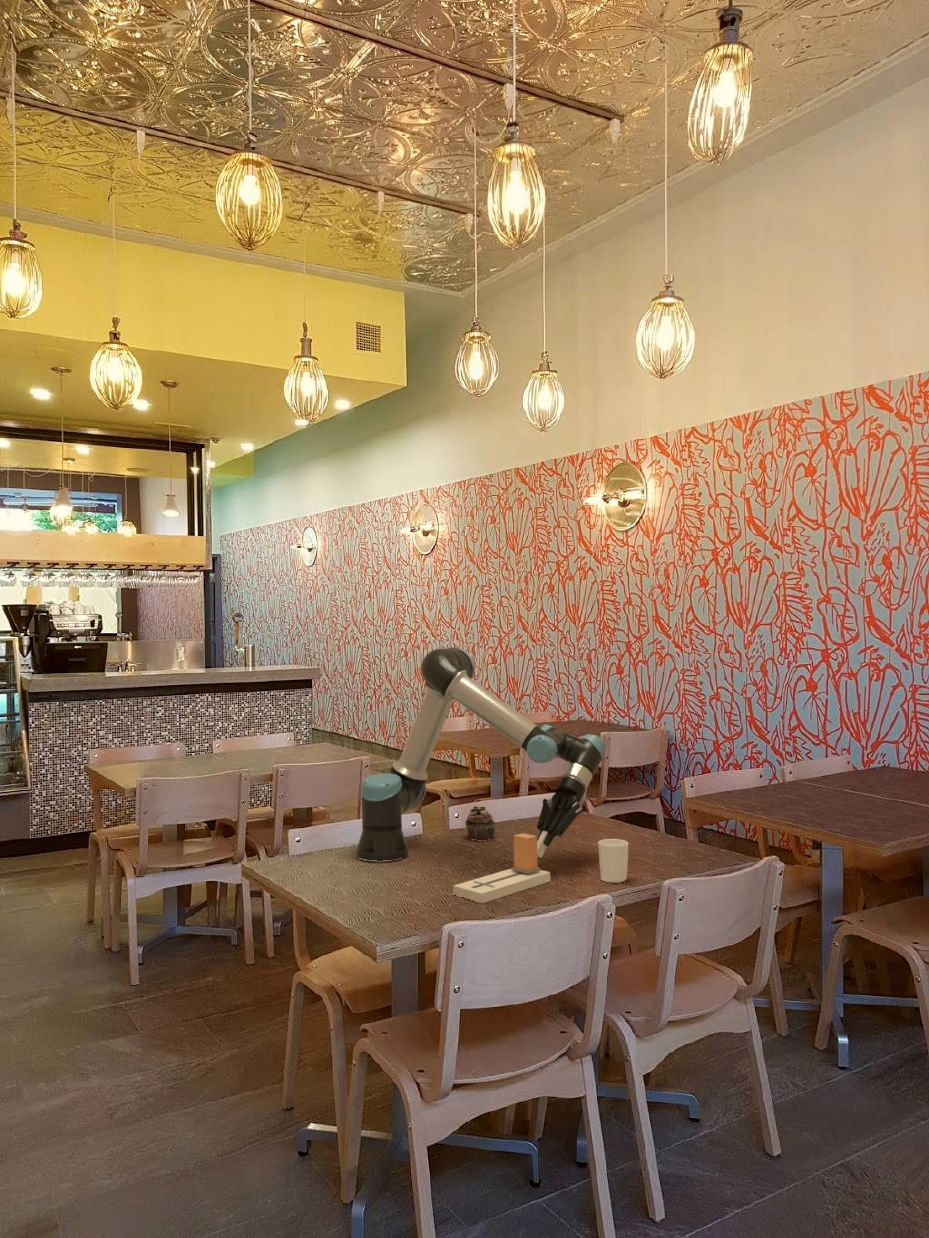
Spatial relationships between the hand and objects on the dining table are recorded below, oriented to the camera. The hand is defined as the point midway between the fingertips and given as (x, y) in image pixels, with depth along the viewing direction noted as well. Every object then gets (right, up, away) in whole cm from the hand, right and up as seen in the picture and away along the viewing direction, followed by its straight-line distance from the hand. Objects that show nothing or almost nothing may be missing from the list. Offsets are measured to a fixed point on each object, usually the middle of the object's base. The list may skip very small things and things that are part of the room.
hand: (536, 854), depth 240 cm
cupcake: (-14, -7, +47) cm, 49 cm away
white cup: (+20, -6, -3) cm, 21 cm away
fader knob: (-3, -4, -3) cm, 5 cm away
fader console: (-9, -6, -9) cm, 15 cm away
